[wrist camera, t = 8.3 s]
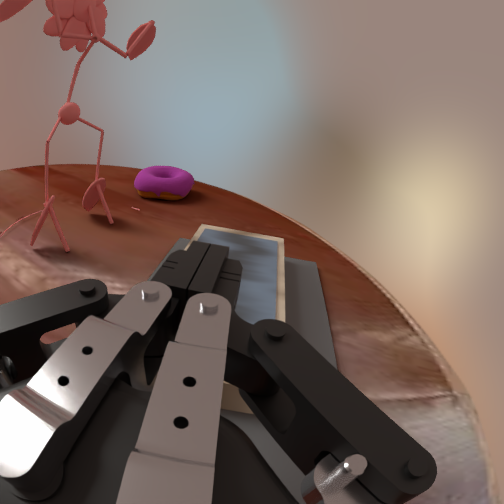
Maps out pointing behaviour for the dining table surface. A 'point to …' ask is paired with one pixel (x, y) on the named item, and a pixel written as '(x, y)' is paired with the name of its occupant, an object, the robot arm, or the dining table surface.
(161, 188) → the donut
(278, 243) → the birch picture frame
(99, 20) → the figurine
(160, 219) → the dining table surface
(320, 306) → the rubber mat
